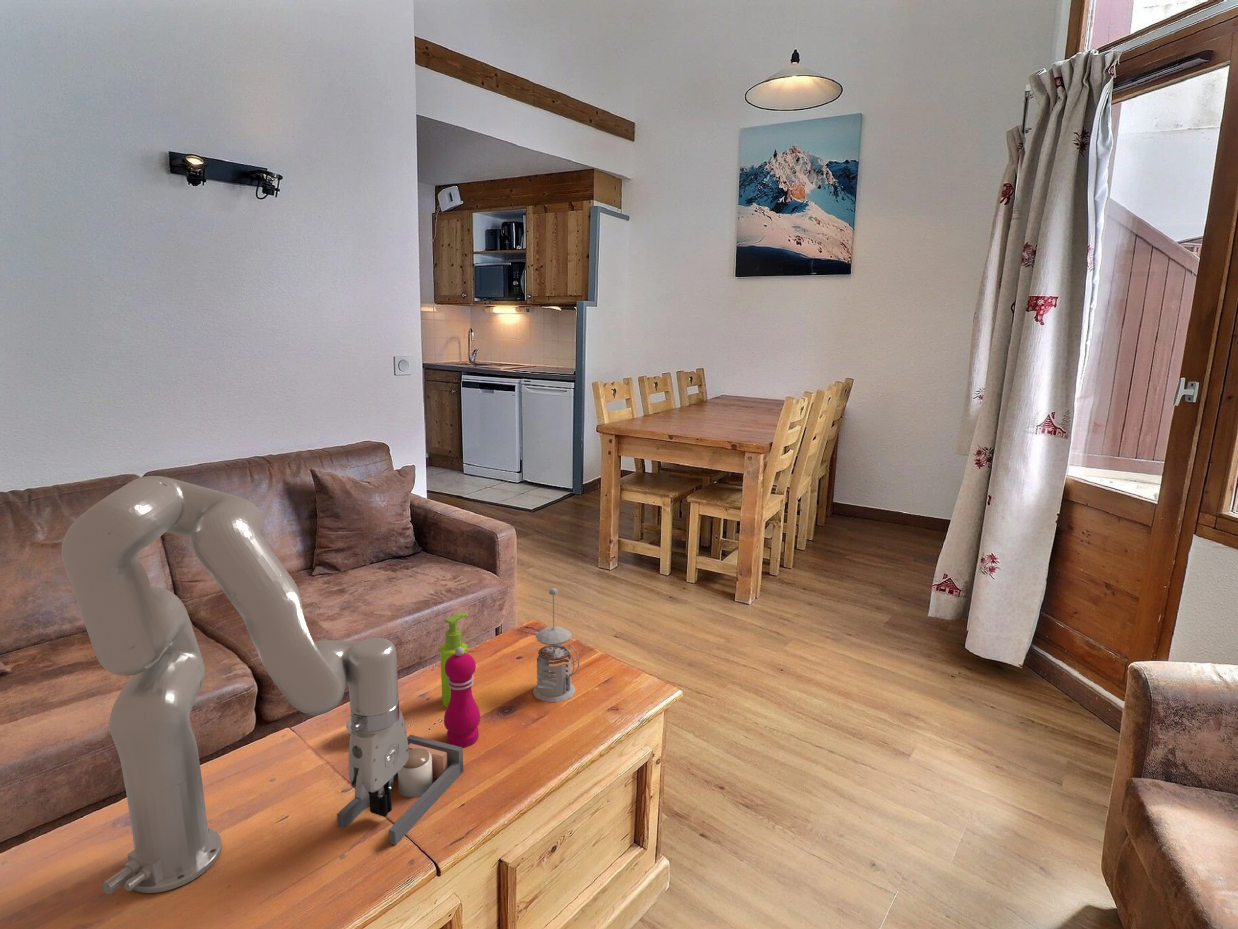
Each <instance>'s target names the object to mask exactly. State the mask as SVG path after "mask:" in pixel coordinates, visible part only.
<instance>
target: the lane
mask: <svg viewBox="0 0 1238 929" xmlns="http://www.w3.org/2000/svg"><path fill="white" fill-rule="evenodd" d="M407 740H408V745H409V744H410V743H412V744H416V745H419V746H423V747H427V748H431V749H435V750H439V751H443V752H447V770H446V771H445V772H444V773H443V774H442V775H441V776H440V777H439V778H438V779H437V778H436V780H435V781H433V784H432V785H431V786H430V787H429V788H428V789H427V790H426V791H425V792H424V794H423V795H421V796H419V797H418V799H417V800H416V801H415V802H414V803H412V805H410V807H409V808H408V809H407V810H406V811H405V812H404V813H403V814H402V816H400V817H399V818H398V819H397V820H396V822H394V824H392V826H391V827H390V828H389V829H388V838H389V839H388V840H389V844H390V845H393V846H394V845H395V846H396V845H397V844H398V843H400V841H401V840H402V839H403V838H404V837H405V835H407V833H408V832H409V831H410V830H411V829H412V828H413V827H414V826H415V825H416V824H417V823H418V822H419V820H420V819H422V818H423V816H424V815H425V814H426V813H427V812H428V810H430V808H431V807H433V805H434V804H435V803H436V802H437V801H438V800H439V798H441V797H442V795H443V794H444V793H445V792H446V791H447V790H448V789H449V788H450V787H451V785H452V784H453V783H455V781H456V780H457V779H459V777H460V776H461V774H463V772H464V751H463V748H464V747H458V746H454V745H450V744H449V743H445V742H441V741H437V740H435V739H429V738H425V737H422V736H417V735H414V734H409V736H408V735H407ZM396 780H398V772H397V773H396V774H395V775H394V777H393V782H395V781H396ZM368 806H370V799H369V796H368V797H367V798H365V799H363V800H359V799H356V798H355V797H354V798H352V799H351V800H350V801H349V802H348V803H347V804H346V805H345V806H344V807H343V808H341V809H340V811H338V813H336V818H337V827H338V828H340V829H345V828H347V827H348V826H349V825H350V824H351V822H353V820H355V819H356V818H357V817H358V816H359V815H360V814H361V813H362V812H363V811H364V810H365V809H367V808H368Z"/></svg>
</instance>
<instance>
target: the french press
mask: <svg viewBox="0 0 1238 929" xmlns="http://www.w3.org/2000/svg"><path fill="white" fill-rule="evenodd" d="M548 594H549V595H551V596H552V626H548V627H546V628H542V629H541V630H540V631H538V632H537V633H536V634H535V639H536V641H537V642H539V643H541V644H543V645H545V646H543V647H541V648H540V649H539V650H538V651H537V654H538V655H537V658H536V674H537V675H536V679H537V680H536V685H535V687H534V688H533V689H532V690H533V691H532V693H533V696H534V697H535V698H536V699H538V700H540V701H543V702H547V703H549V702H550V703H558V702H565V701H566V700H568V699H570V698H572V697H573V696H574V695H575V693H576V688H575V686H574V684H572V676H573V675H575V674H576V673H577V672H578V670H579V669H580V668H579V667H580V657H579V654H578V652H577V650H576V649H575V647H574V646H573V645H572V644H569V645H568V647H567V646H564V645H562V644H565V643H568V641H570V640H571V639H572V634H573V633H571V631H570V630H569V629H565V628H564V627H562V626H555V599H554V598H555V596H556V595H558V589H557V588H555V587H554V588H553V587H552V588H551V589H550V590H549V593H548ZM570 648H572V649H573V650H574V652H575V654H576V657H577V669H576V670H575V660H574V657H573V655H572V652H571V650H570ZM566 658H568V659H566ZM561 663H564V664H561ZM566 663H567V664H566ZM557 664H558V665H557ZM559 664H560V665H559ZM551 665H552V666H551ZM553 665H554V666H553ZM572 666H573V668H572Z"/></svg>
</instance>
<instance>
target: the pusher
mask: <svg viewBox="0 0 1238 929" xmlns="http://www.w3.org/2000/svg"><path fill="white" fill-rule="evenodd" d="M414 748H422V749H425V750H427V751H428V752H430V753H431V756H432V774H433V779H436V780H437V779H438V778H439V777H440V776H441V775H442V774H443V773H444V772H445V771H446V770H447V752H443V751H439V750H435V749H431V748H427V747H423V746H419V745H416V744H412V743H410V744H409V745H408V750H410V749H414Z"/></svg>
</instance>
